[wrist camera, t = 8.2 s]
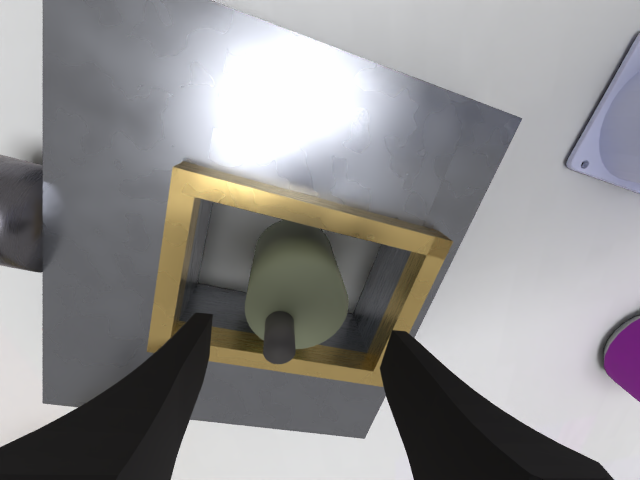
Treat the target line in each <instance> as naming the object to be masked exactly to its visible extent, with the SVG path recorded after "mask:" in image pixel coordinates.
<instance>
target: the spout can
mask: <svg viewBox="0 0 640 480" xmlns="http://www.w3.org/2000/svg"><path fill="white" fill-rule="evenodd" d="M348 304H349V301H348V295H347V291H346V288H345V285H344V283H343V280H342V277H341V274H340V271H339V268H338V266H337V263H336V260H335V257H334V254H333V252H332V249H331V246H330V243H329V241H328V238H327V237H326V235H325V234H324V233H323V231H322V230H321V229H319V228H316V227H312V226H308V225H304V224H300V223H296V222H292V221H288V220H283V221H280V222H277V223H275V224H273V225H272V226H270V227H269V228H267V229H266V230H265V231H264V232H263V233H262V235H261V236H260V237H259V239H258V241H257V244H256V247H255V252H254V257H253V263H252V268H251V273H250V279H249V284H248V289H247V295H246V300H245V315H246V319H247V322H248V324H249V326H250V327H251V329H252V330H253V332H254V333H255V334H256V335H257V336H258V337H259V338H261V339H262V340H264V345H263V355H264V357H265V359H266V360H267V361H269V362H270V363H273V364H284V363H287V362H289V361H290V360H291V359H292V358H293V357H294V356H295V352H296V349H304V348H309V347H313V346H316V345H318V344H320V343H322V342H324V341H326V340H327V339H329V338H330V337H332V336H333V335H334V334H335V333H336V332H337V331H338V330H339V328H340V327H341V326H342V324H343V322H344V320H345V318H346V315H347V312H348Z"/></svg>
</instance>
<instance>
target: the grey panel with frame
mask: <svg viewBox="0 0 640 480" xmlns="http://www.w3.org/2000/svg"><path fill="white" fill-rule="evenodd" d="M521 120H522V118H520V117H517V116H515V115H512V114H509V113H507V112H504V111H501V110H499V109H496V108H493V107H491V106H488V105H486V104H483V103H480V102H478V101H475V100H472V99H470V98H467V97H464V96H462V95H459V94H457V93H454V92H451V91H449V90H446V89H443V88H441V87H438V86H436V85H433V84H430V83H428V82H425V81H422V80H420V79H417V78H414V77H412V76H409V75H407V74H404V73H401V72H399V71H396V70H393V69H391V68H388V67H385V66H383V65H380V64H378V63H375V62H372V61H370V60H367V59H364V58H362V57H359V56H356V55H354V54H351V53H349V52H346V51H343V50H341V49H338V48H335V47H333V46H330V45H328V44H325V43H322V42H320V41H317V40H314V39H312V38H309V37H306V36H304V35H301V34H299V33H296V32H293V31H291V30H288V29H285V28H283V27H280V26H277V25H275V24H272V23H270V22H267V21H264V20H262V19H259V18H256V17H254V16H251V15H249V14H246V13H243V12H241V11H238V10H235V9H233V8H230V7H227V6H225V5H222V4H220V3H217V2H214V1H212V0H43V165H39V164H35V163H31V162H27V161H23V160H19V159H15V158H11V157H7V156H3V155H0V265H1V266H6V267H12V268H17V269H23V270H28V271H34V272H43V403H44V404H53V405H62V406H71V407H80V406H82V405H83V404H85V403H87V402H88V401H90V400H91V399H93V398H95V397H96V396H98V395H99V394H101V393H102V392H104V391H105V390H107V389H108V388H110V387H111V386H113V385H114V384H116V383H117V382H119V381H120V380H121V379H123V378H124V377H125V376H127V375H128V374H129V373H131V372H132V371H133V370H135V369H136V368H137V367H138V366H140V365H141V364H142V363H143V362H144V361H146V360H147V359H148V358H149V357H150V356H151V355H153V354H154V353H155V352H156V351H157V350H158V349H160V348H161V347H162V346H163V345H164V344H165V343H166V342H167V341H168V340H169V339H170V338H171V337H172V336H173V335H174V334H175V333H176V332H177V331H178V330H179V329H180V328H181V327H182V326H183V325H184V324H185V323H186V322H187V321H188V320H189V318H190V317H191V316H192V315H193V314H195V313H207V314H213V317H212V330H211V343H210V356H209V361H208V365H207V369H206V373H205V377H204V381H203V384H202V387H201V390H200V393H199V395H198V398H197V401H196V404H195V406H194V409H193V412H192V415H191V417H190V420H199V421H208V422H217V423H226V424H236V425H245V426H254V427H263V428H272V429H281V430H290V431H299V432H308V433H318V434H327V435H336V436H345V437H354V438H363V439H365V437H366V435H367V433H368V431H369V429H370V427H371V425H372V422H373V420H374V418H375V416H376V414H377V412H378V410H379V408H380V406H381V404H382V402H383V400H384V398H385V396H386V394H385V391H384V386H383V382H382V377H381V373H380V366H381V362H382V359H383V356H384V353H385V350H386V347H387V344H388V341H389V338H390V335H391V332H392V330H398V331H406V332H407V333H409V334H410V335H411V336H412V337H413V338H414V337H415V335H416V333H417V331H418V329H419V327H420V325H421V323H422V321H423V319H424V317H425V315H426V313H427V311H428V309H429V307H430V305H431V303H432V301H433V299H434V297H435V295H436V293H437V290H438V288H439V286H440V284H441V282H442V280H443V278H444V276H445V274H446V272H447V270H448V268H449V266H450V264H451V262H452V260H453V258H454V256H455V254H456V252H457V250H458V248H459V246H460V244H461V242H462V240H463V238H464V236H465V234H466V232H467V230H468V228H469V226H470V223H471V221H472V219H473V217H474V215H475V213H476V211H477V209H478V207H479V205H480V203H481V201H482V199H483V197H484V195H485V193H486V191H487V189H488V187H489V185H490V183H491V181H492V179H493V177H494V175H495V173H496V171H497V169H498V167H499V165H500V163H501V161H502V158H503V156H504V154H505V152H506V150H507V148H508V146H509V144H510V142H511V140H512V138H513V136H514V134H515V132H516V130H517V128H518V126H519V124H520V122H521ZM213 202H217V203H221V204H224V205H228V206H232V207H236V208H240V209H244V210H248V211H252V212H256V213H260V214H264V215H268V216H272V217H276V218H280V219H284V220H288V221H292V222H296V223H300V224H304V225H308V226H312V227H316V228H320V229H324V230H328V231H332V232H336V233H340V234H344V235H348V236H352V237H356V238H360V239H364V240H368V241H372V242H376V243H380V244H381V247H380V249H379V252H378V254H377V257H376V259H375V262H374V264H373V267H372V269H371V272H370V274H369V277H368V279H367V282H366V284H365V287H364V289H363V292H362V294H361V297H360V299H359V302H358V304H357V307H356V309H355V312H354V314H350V313H347V315H346V318H345V320H344V322H343V324H342V326H341V327H340V328H339V330H338V331H337V332H336V333H335V334H334V335H333V336H332V337H330V338H329V339H327V340H326V341H324V342H322V343H320V344H318V345H316V346H313V347H309V348H304V349H296V352H295V356H294V357H293V358H292V359H291V360H290V361H289V362H287V363H284V364H273V363H270V362H269V361H267V360H266V359H265V357H264V355H263V345H264V340H262V339H261V338H259V337H258V336H257V335H256V334H255V333H254V332H253V330H252V329H251V327H250V326H249V324H248V322H247V319H246V315H245V300H246V295H247V293H244V292H239V291H233V290H228V289H223V288H218V287H213V286H208V285H203V284H198V283H197V282H198V277H199V272H200V267H201V261H202V256H203V251H204V246H205V241H206V235H207V230H208V225H209V220H210V214H211V209H212V204H213Z"/></svg>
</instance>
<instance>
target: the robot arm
mask: <svg viewBox="0 0 640 480" xmlns="http://www.w3.org/2000/svg"><path fill="white" fill-rule="evenodd" d="M582 162H584V163H583V165H582V166H581V164H582ZM567 167H568V168H569V169H571V170H574V171H577V172H579V173H582V174H585V175H588V176H591V177H594V178H596V179H599V180H602V181H605V182H608V183H611V184H613V185H616V186H619V187H622V188H625V189H628V190H630V191H633V192H636V193H639V194H640V33H639V34H638V36H637V37H636V39H635V41H634V43H633V44H632V46H631V48H630V50H629V52H628V53H627V55H626V57H625V59H624V60H623V62H622V64H621V66H620V68H619V69H618V71H617V73H616V75H615V76H614V78H613V80H612V82H611V84H610V85H609V87H608V89H607V91H606V92H605V94H604V96H603V98H602V99H601V101H600V103H599V105H598V107H597V108H596V110H595V112H594V114H593V115H592V117H591V119H590V121H589V123H588V124H587V126H586V128H585V130H584V131H583V133H582V135H581V137H580V139H579V140H578V142H577V144H576V146H575V147H574V149H573V151H572V153H571V155H570V156H569V158H568V160H567ZM212 317H213V314H207V313H195V314H193V315H192V316H191V317H190V318H189V320H188V321H187V322H186V323H185V324H184V325H183V326H182V327H181V328H180V329H179V330H178V331H177V332H176V333H175V334H174V335H173V336H172V337H171V338H170V339H169V340H168V341H167V342H166V343H165V344H164V345H163V346H162V347H161V348H160V349H158V350H157V351H156V352H155V353H154V354H153V355H151V356H150V357H149V358H148V359H147V360H146V361H144V362H143V363H142V364H141V365H140V366H138V367H137V368H136V369H135V370H133V371H132V372H131V373H129V374H128V375H127V376H125V377H124V378H123V379H121V380H120V381H119V382H117V383H116V384H114V385H113V386H111V387H110V388H108V389H107V390H105V391H104V392H102V393H101V394H99V395H98V396H96V397H95V398H93V399H91V400H90V401H88V402H87V403H85V404H83V405H82V406H80V407H78V408H77V409H75V410H73V411H71V412H70V413H68V414H66V415H64V416H62V417H60V418H59V419H57V420H55V421H53V422H51V423H49V424H47V425H45V426H43V427H42V428H40V429H38V430H36V431H34V432H31V433H29V434H27V435H25V436H23V437H21V438H19V439H17V440H15V441H12V442H10V443H8V444H6V445H4V446H2V447H0V480H170V479H171V476H172V472H173V468H174V465H175V461H176V457H177V454H178V451H179V448H180V445H181V442H182V439H183V436H184V434H185V431H186V428H187V425H188V423H189V420H190V417H191V415H192V412H193V409H194V406H195V404H196V401H197V398H198V395H199V393H200V390H201V387H202V384H203V381H204V377H205V373H206V369H207V365H208V361H209V356H210V343H211V330H212ZM380 373H381V377H382V382H383V386H384V391H385V394H386V397H387V400H388V403H389V405H390V408H391V411H392V414H393V417H394V419H395V422H396V425H397V427H398V430H399V433H400V436H401V438H402V441H403V444H404V447H405V450H406V453H407V456H408V459H409V463H410V466H411V470H412V474H413V478H414V480H614V479H613V478H612V477H611V476H610V475H609V473H608V472H607V471H606V470H605V469H604V468H603V467H602V465H601V464H600V463H598V462H596V461H594V460H592V459H590V458H588V457H586V456H584V455H582V454H580V453H578V452H576V451H574V450H572V449H569V448H567V447H565V446H563V445H561V444H559V443H557V442H556V441H554V440H552V439H550V438H548V437H546V436H545V435H543V434H541V433H539V432H537V431H535V430H534V429H532V428H530V427H529V426H527V425H525V424H523V423H522V422H520V421H519V420H517V419H515V418H514V417H512V416H511V415H509V414H507V413H506V412H504V411H503V410H501V409H500V408H498V407H497V406H495V405H494V404H492V403H491V402H490V401H488V400H487V399H485V398H484V397H483V396H481V395H480V394H479V393H477V392H476V391H475V390H473V389H472V388H471V387H469V386H468V385H467V384H466V383H464V382H463V381H462V380H461V379H460V378H458V377H457V376H456V375H455V374H453V373H452V372H451V371H450V370H449V369H448V368H447V367H445V366H444V365H443V364H442V363H441V362H440V361H439V360H438V359H436V358H435V357H434V356H433V355H432V354H431V353H430V352H429V351H428V350H427V349H425V348H424V347H423V346H422V345H421V344H420V343H419V342H418V341H417V340H416V339H415V338H413V337H412V336H411V335H410V334H409V333H407V332H406V331H398V330H392V332H391V335H390V338H389V341H388V344H387V347H386V350H385V353H384V356H383V359H382V362H381V366H380Z"/></svg>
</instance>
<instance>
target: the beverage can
mask: <svg viewBox="0 0 640 480" xmlns="http://www.w3.org/2000/svg"><path fill="white" fill-rule="evenodd" d="M603 357H604V368H605V370H606V372H607V374H608V375H609V376H610V377H611V378H612V379H613V380H614V381H615V382H616V383H617V384H618V385H620V386H621V387H622V388H623V389H624V390H626V391H627V392H628V393H629V394H631V395H632V396H633V397H634V398H635V399H637V400H638V401H639V402H640V315H638V316H635V317H633V318H631V319H630V320H628V321H626V322H624V323H623V324H622V325H621V326H620V327H619V328H617V329H616V330H615V331H614V333H613V334H612V335H611V336H610V338H609V339H608V341H607V343H606V345H605V348H604V356H603Z"/></svg>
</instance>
